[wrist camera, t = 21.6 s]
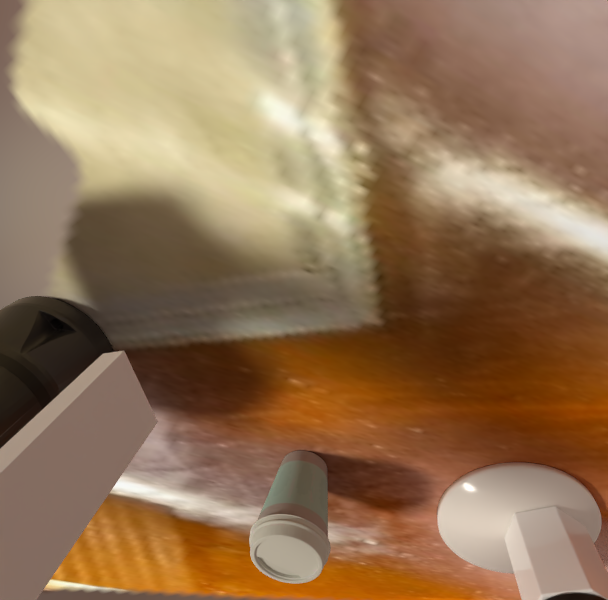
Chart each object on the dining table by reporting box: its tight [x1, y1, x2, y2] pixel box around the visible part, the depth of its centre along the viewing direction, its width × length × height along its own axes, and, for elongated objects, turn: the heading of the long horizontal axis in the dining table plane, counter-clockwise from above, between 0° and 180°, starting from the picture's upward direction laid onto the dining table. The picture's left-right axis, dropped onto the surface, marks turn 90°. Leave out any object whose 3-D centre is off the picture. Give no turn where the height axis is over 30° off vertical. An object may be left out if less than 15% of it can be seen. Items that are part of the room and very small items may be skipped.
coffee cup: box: [249, 451, 330, 583], centre depth 48 cm, size 9×8×12 cm
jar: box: [504, 506, 608, 600], centre depth 45 cm, size 9×8×12 cm
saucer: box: [437, 462, 602, 574], centre depth 51 cm, size 18×18×1 cm
